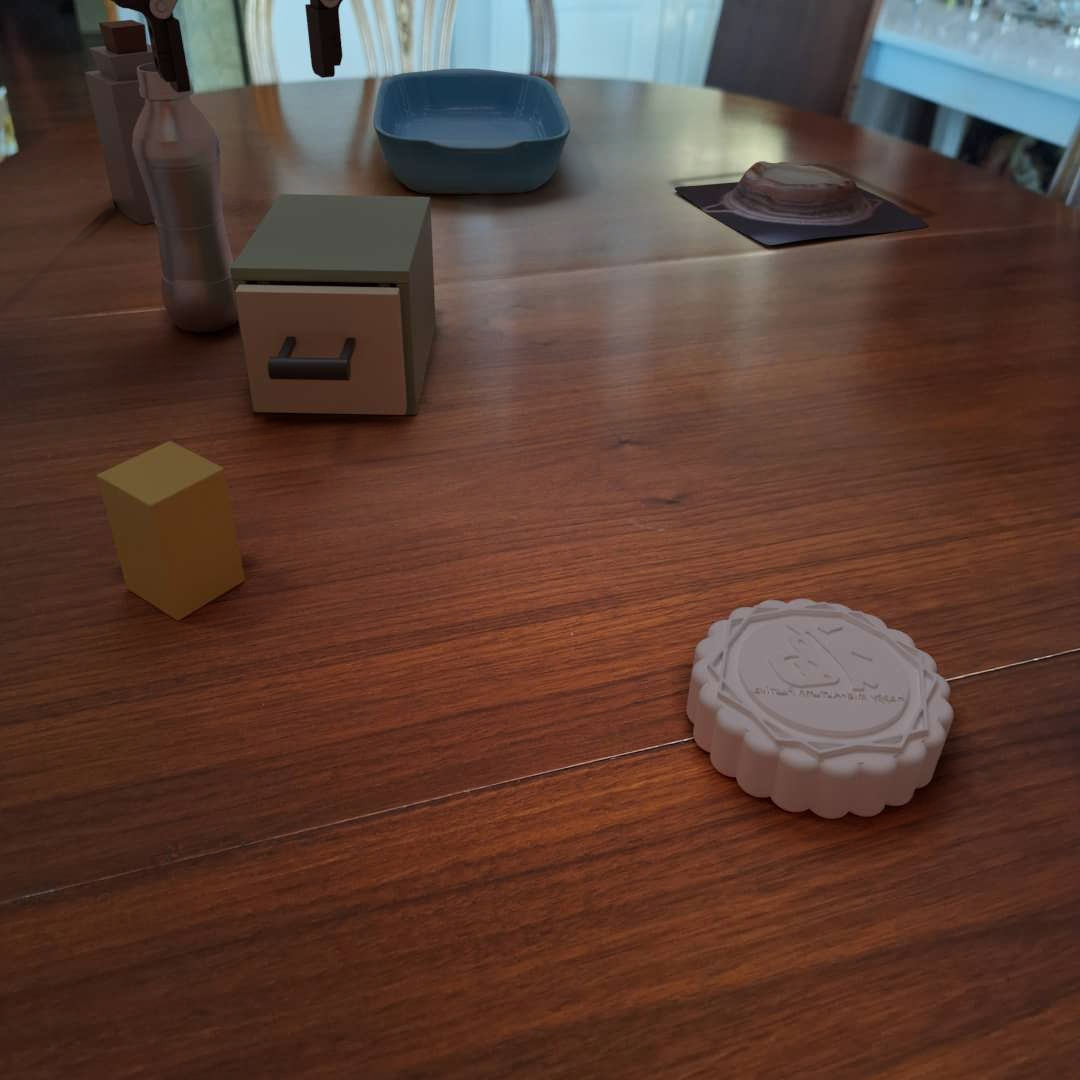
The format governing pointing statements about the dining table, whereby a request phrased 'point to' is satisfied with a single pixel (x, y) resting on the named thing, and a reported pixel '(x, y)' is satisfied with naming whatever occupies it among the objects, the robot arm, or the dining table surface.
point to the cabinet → (353, 258)
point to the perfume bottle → (121, 112)
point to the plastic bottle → (185, 204)
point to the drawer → (323, 347)
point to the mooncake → (818, 707)
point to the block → (173, 528)
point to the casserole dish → (470, 130)
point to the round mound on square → (798, 205)
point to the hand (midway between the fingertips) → (253, 82)
